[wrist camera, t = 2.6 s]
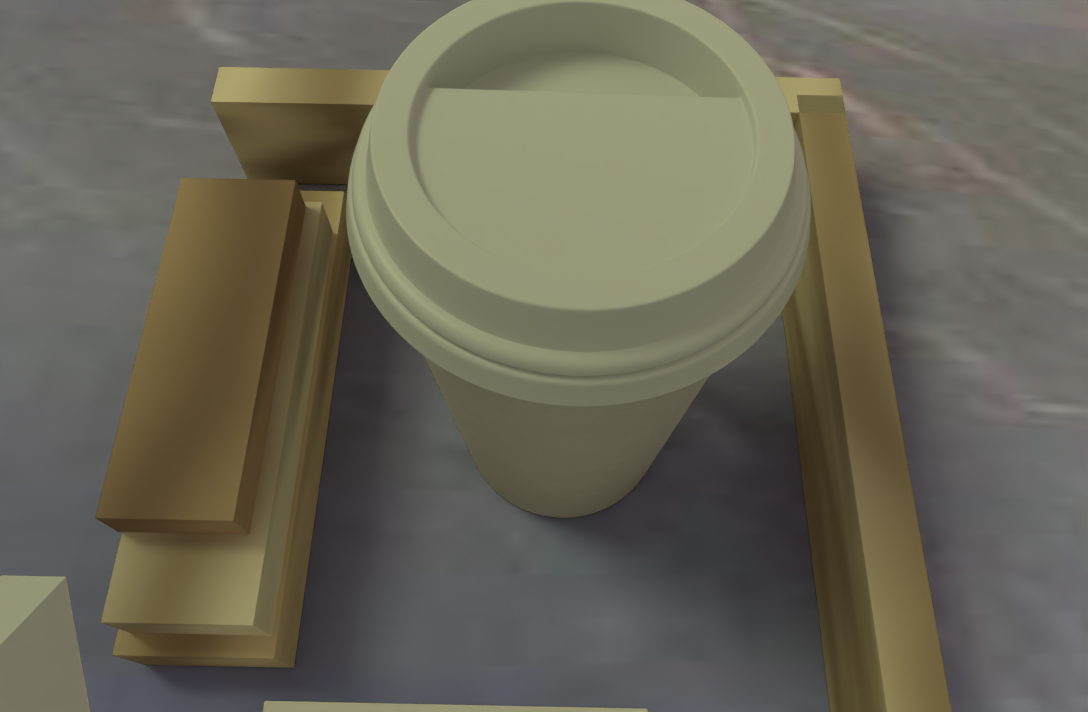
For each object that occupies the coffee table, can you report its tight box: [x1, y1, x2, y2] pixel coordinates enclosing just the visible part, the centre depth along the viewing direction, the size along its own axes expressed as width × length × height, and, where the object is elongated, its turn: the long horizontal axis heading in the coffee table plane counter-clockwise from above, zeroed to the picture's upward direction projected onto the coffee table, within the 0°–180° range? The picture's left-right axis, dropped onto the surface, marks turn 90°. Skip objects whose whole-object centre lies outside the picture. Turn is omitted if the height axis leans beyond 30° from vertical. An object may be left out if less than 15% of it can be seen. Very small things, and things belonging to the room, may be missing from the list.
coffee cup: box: [346, 0, 811, 518], centre depth 23 cm, size 10×10×15 cm
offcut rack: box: [211, 67, 952, 712], centre depth 28 cm, size 22×22×4 cm
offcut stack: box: [95, 178, 352, 668], centre depth 27 cm, size 4×16×5 cm, turn 179°
